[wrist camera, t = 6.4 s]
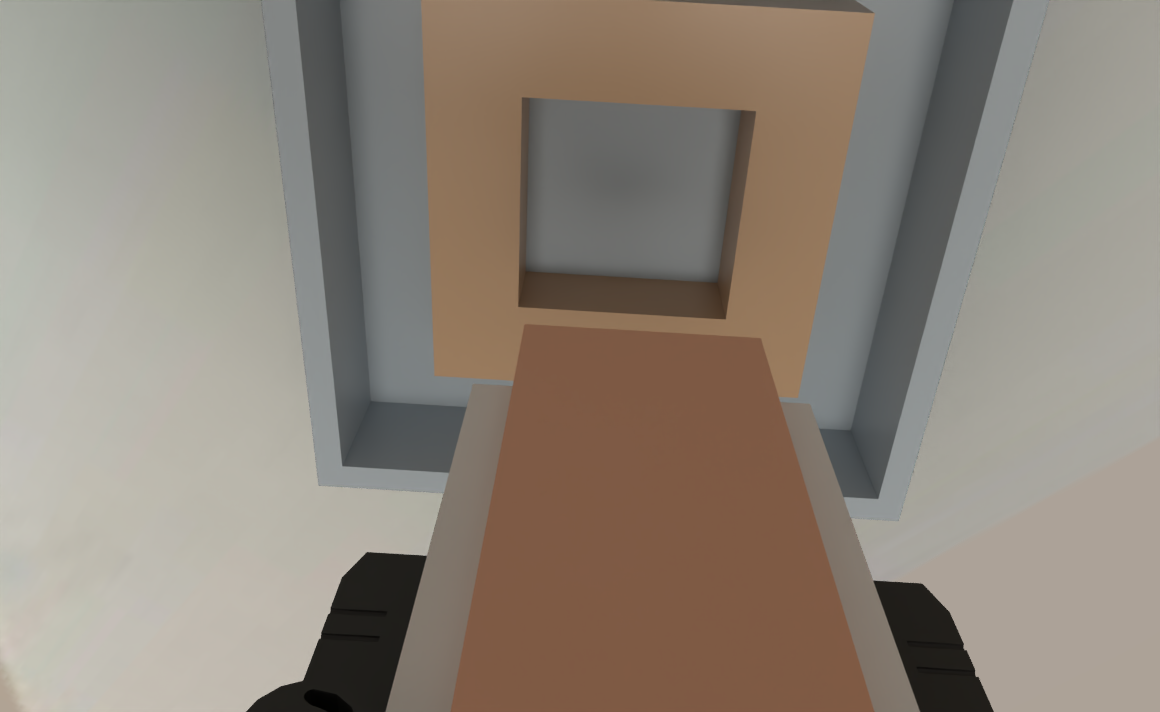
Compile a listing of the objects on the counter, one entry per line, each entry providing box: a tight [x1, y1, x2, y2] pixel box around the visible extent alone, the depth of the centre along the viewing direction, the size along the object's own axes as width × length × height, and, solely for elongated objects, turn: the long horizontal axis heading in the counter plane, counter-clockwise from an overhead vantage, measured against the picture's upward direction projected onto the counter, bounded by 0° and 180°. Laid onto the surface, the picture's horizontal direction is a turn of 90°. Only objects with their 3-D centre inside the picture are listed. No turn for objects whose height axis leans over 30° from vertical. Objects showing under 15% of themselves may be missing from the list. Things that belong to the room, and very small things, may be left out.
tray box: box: [261, 0, 1049, 521], centre depth 25 cm, size 18×18×4 cm
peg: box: [451, 324, 874, 712], centre depth 11 cm, size 4×4×12 cm
